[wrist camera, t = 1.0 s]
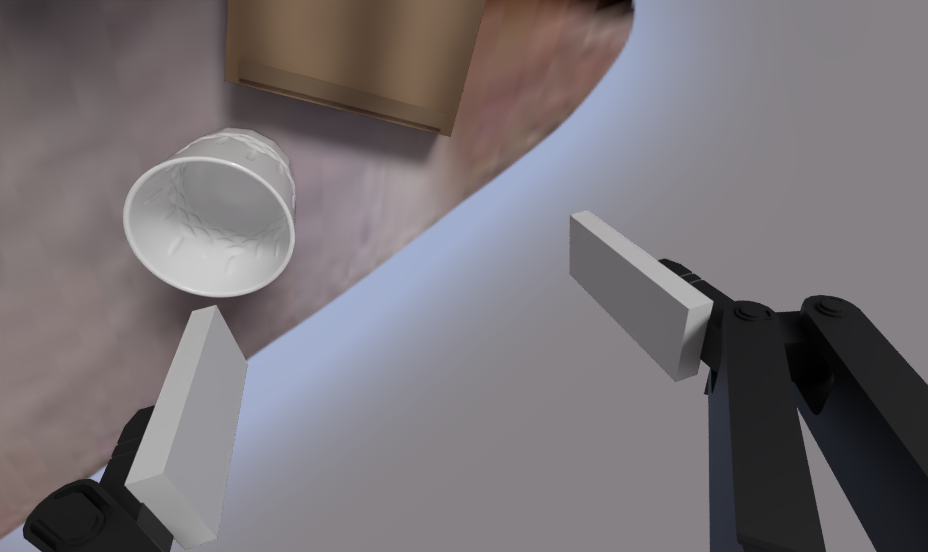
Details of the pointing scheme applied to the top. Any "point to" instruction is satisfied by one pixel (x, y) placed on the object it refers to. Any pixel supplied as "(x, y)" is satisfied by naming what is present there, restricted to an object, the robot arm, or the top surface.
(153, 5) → the top surface
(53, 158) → the top surface
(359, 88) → the tan flat block
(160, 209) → the white cup
